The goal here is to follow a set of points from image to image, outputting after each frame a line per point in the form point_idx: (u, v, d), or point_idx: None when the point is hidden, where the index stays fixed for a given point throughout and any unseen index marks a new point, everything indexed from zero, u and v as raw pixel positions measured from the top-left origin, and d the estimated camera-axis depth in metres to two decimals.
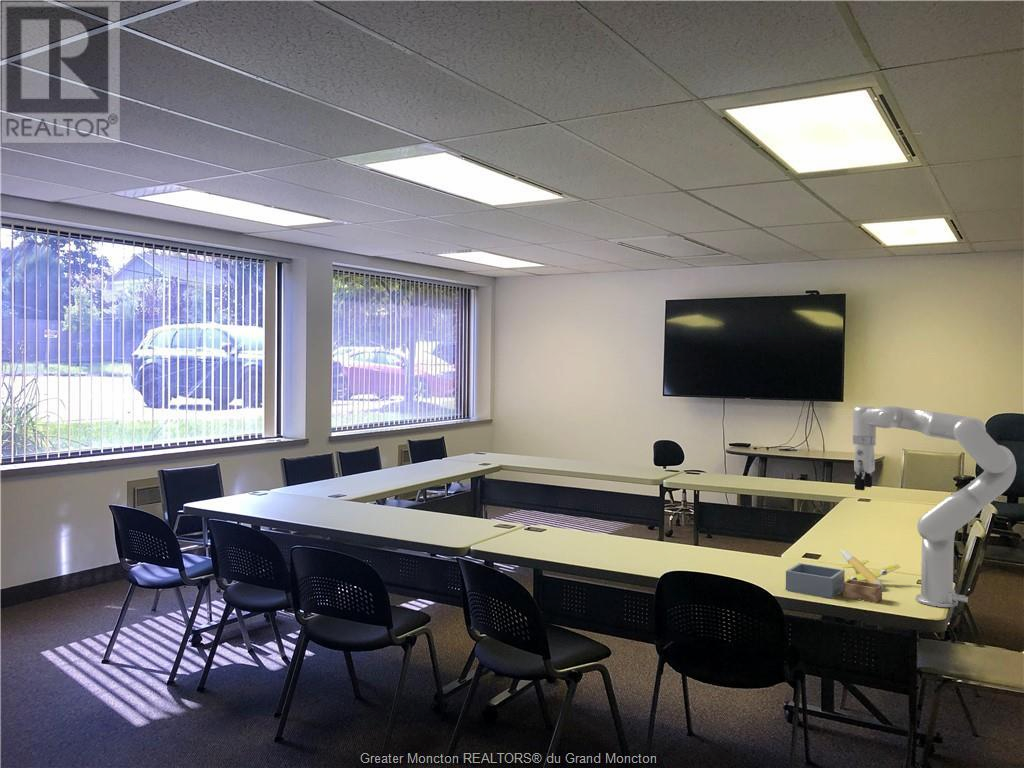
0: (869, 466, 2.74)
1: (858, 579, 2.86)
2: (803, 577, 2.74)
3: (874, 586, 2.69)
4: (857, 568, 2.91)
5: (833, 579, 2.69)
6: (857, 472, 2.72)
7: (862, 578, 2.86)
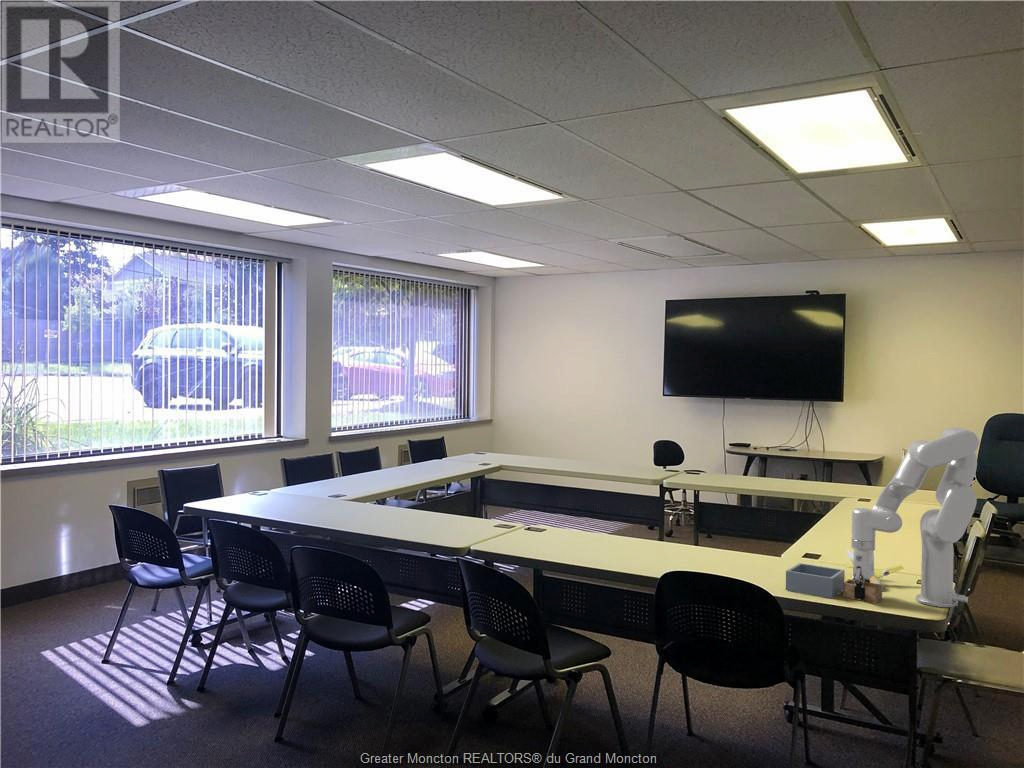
0: (868, 572, 2.64)
1: None
2: (803, 577, 2.74)
3: (874, 586, 2.69)
4: None
5: (833, 579, 2.69)
6: (857, 582, 2.63)
7: None
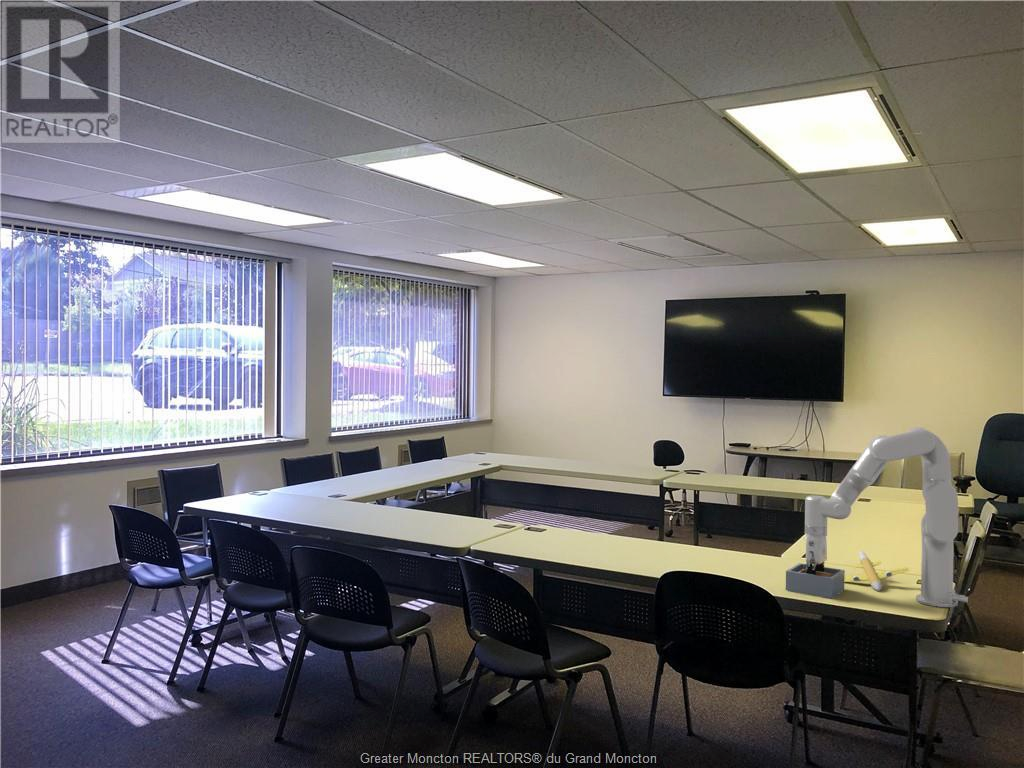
0: (820, 557, 2.74)
1: (861, 579, 2.86)
2: (803, 577, 2.74)
3: (826, 575, 2.79)
4: (865, 568, 2.90)
5: (833, 579, 2.69)
6: (808, 564, 2.72)
7: (865, 578, 2.85)
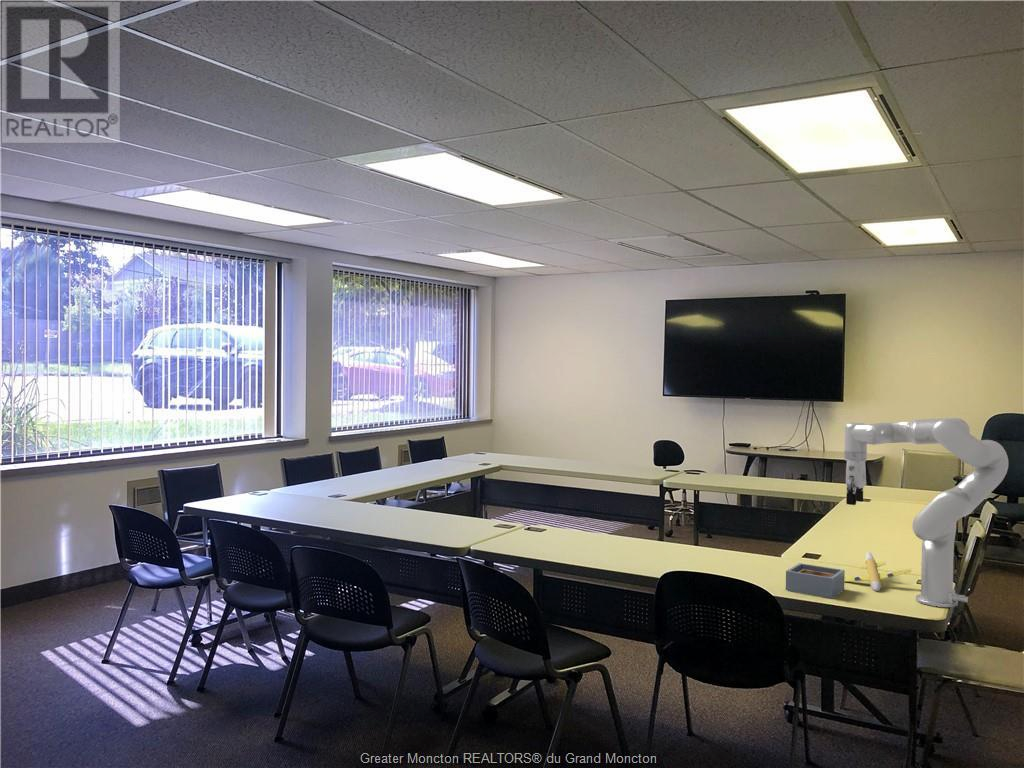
0: (860, 481, 2.81)
1: (862, 579, 2.86)
2: (803, 577, 2.74)
3: (826, 575, 2.79)
4: (868, 569, 2.90)
5: (833, 579, 2.69)
6: (848, 487, 2.79)
7: (866, 578, 2.85)
